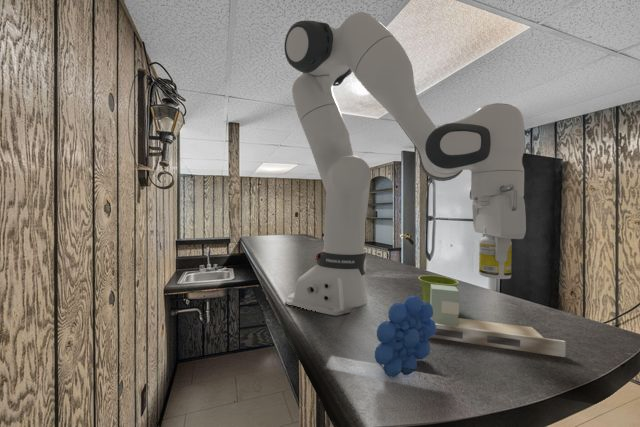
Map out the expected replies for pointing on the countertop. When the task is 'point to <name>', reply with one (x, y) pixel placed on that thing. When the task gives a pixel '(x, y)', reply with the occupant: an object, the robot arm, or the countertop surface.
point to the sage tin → (444, 304)
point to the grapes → (405, 336)
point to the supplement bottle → (487, 261)
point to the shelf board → (500, 336)
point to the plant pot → (435, 280)
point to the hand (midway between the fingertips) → (494, 258)
